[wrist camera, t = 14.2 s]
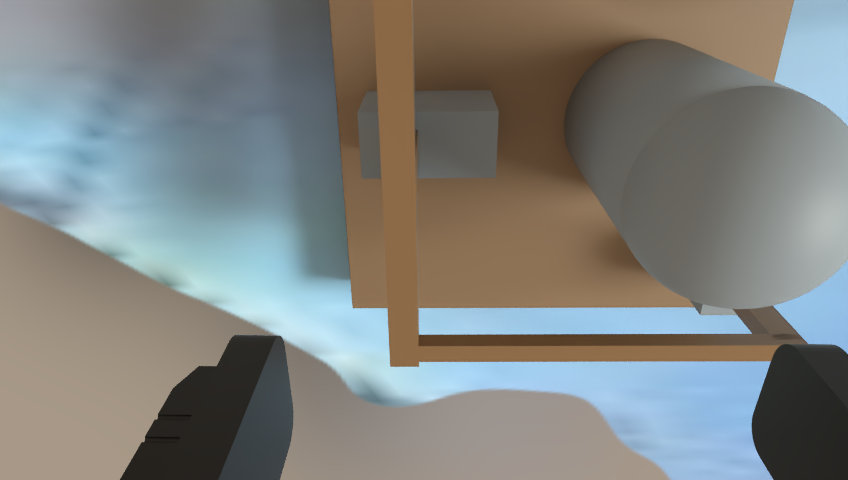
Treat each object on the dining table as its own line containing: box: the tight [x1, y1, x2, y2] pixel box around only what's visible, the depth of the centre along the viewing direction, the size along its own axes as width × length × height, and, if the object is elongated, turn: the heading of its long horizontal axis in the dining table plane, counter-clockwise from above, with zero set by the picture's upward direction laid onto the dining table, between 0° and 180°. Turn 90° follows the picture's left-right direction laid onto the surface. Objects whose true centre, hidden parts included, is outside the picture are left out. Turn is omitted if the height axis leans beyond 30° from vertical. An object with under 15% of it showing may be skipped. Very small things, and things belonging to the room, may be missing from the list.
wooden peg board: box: [329, 0, 848, 315], centre depth 25 cm, size 22×21×17 cm
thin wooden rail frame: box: [373, 0, 808, 367], centre depth 24 cm, size 16×17×5 cm
